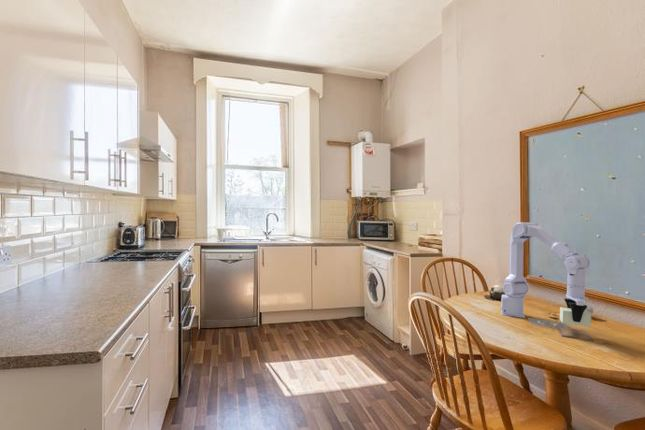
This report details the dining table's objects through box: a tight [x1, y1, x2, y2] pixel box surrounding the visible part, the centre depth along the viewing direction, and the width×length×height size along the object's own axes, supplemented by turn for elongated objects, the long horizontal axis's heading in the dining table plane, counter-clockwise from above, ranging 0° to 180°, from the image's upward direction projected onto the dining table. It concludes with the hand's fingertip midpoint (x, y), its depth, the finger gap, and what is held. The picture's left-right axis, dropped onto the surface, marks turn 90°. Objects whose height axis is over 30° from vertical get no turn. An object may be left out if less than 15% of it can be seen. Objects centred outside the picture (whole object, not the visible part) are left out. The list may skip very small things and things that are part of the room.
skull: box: [484, 284, 506, 302], centre depth 191 cm, size 12×10×10 cm
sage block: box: [559, 306, 592, 328], centre depth 136 cm, size 9×6×5 cm, turn 66°
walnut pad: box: [555, 327, 594, 342], centre depth 136 cm, size 10×10×1 cm
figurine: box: [547, 311, 560, 319], centre depth 156 cm, size 8×6×12 cm
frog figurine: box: [584, 301, 594, 315], centre depth 161 cm, size 6×7×7 cm
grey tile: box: [527, 317, 570, 329], centre depth 149 cm, size 14×10×1 cm
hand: (574, 319), depth 136 cm, fingers closed on sage block, 5 cm apart
